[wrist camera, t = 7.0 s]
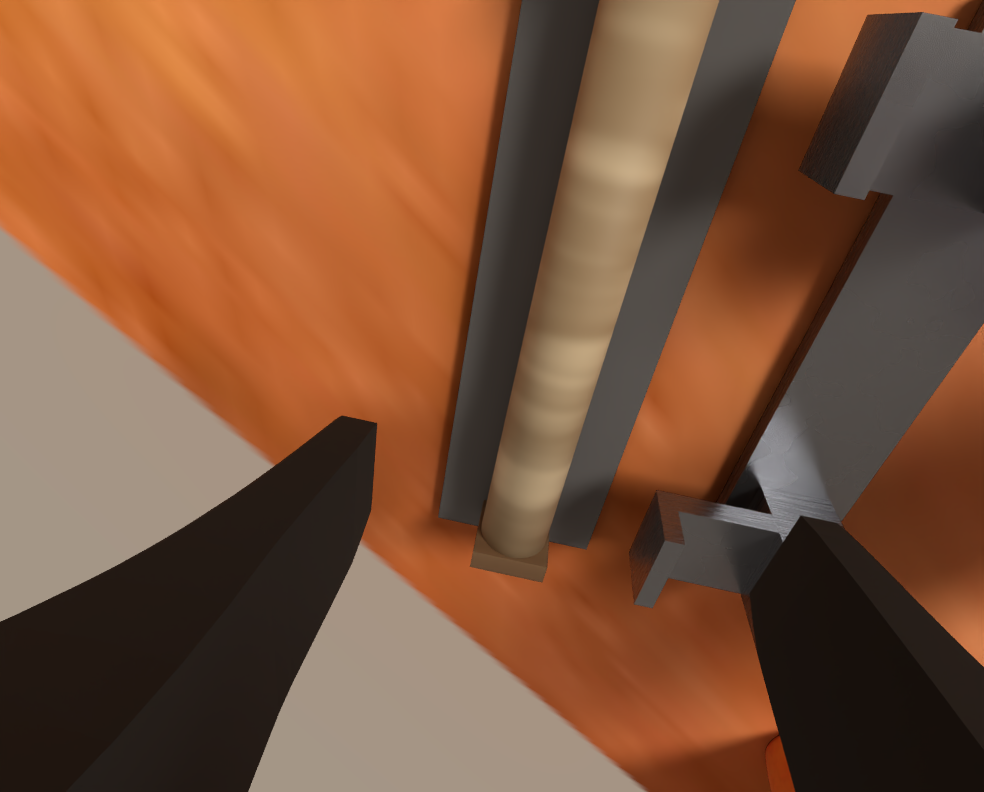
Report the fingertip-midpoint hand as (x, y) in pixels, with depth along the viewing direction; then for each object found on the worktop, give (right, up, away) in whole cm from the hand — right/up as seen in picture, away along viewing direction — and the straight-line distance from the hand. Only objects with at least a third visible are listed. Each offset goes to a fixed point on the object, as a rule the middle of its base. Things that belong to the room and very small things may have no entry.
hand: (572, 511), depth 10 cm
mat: (+1, +5, +8) cm, 9 cm away
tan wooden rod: (+1, +5, +7) cm, 9 cm away
